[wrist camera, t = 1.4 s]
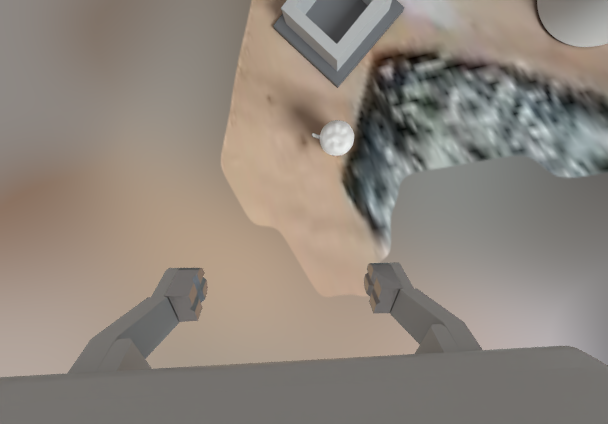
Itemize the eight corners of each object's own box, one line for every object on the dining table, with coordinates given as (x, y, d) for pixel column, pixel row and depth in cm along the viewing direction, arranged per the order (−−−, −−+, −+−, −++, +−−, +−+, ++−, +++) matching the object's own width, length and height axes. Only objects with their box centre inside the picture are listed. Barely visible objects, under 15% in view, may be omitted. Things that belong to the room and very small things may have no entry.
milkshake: (319, 131, 39) (313, 115, 29) (352, 133, 38) (356, 117, 29) (317, 159, 40) (310, 152, 30) (349, 161, 39) (353, 155, 29)
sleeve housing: (334, -52, 35) (334, -83, 31) (402, 11, 35) (411, -12, 31) (274, 29, 38) (266, 10, 34) (337, 87, 38) (337, 76, 34)
